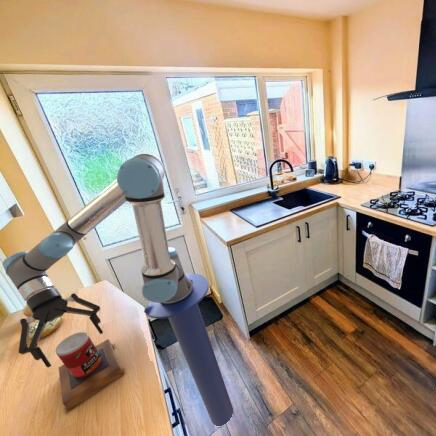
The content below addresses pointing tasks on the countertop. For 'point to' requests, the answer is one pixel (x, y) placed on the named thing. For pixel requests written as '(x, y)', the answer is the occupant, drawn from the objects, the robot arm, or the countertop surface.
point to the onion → (27, 311)
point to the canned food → (79, 354)
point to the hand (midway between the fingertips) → (77, 348)
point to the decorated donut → (48, 328)
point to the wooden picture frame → (89, 377)
